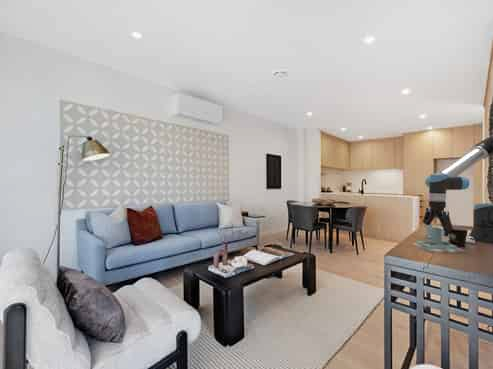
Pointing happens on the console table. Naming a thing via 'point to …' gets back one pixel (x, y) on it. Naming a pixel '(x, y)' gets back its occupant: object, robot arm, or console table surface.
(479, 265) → the console table surface
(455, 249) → the boss board
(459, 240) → the coffee mug
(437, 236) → the panel
